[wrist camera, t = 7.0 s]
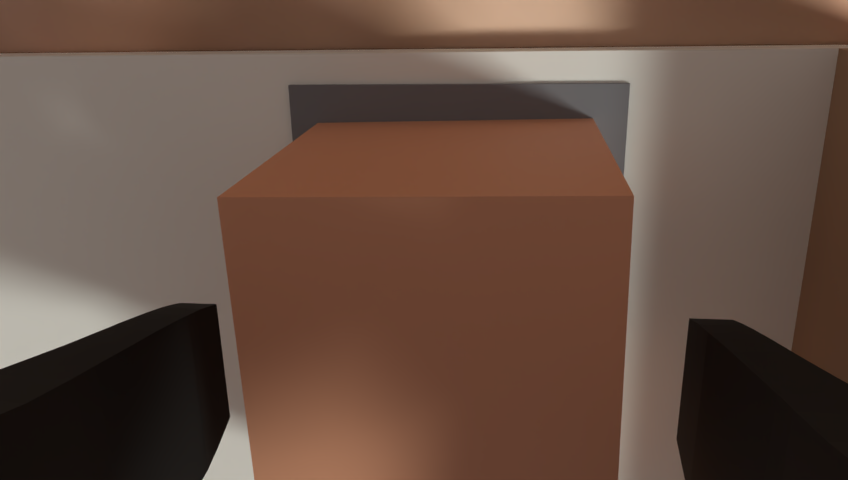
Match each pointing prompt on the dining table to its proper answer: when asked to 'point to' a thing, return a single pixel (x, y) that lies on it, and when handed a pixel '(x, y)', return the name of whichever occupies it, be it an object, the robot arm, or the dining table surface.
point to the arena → (274, 70)
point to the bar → (432, 301)
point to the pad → (465, 105)
